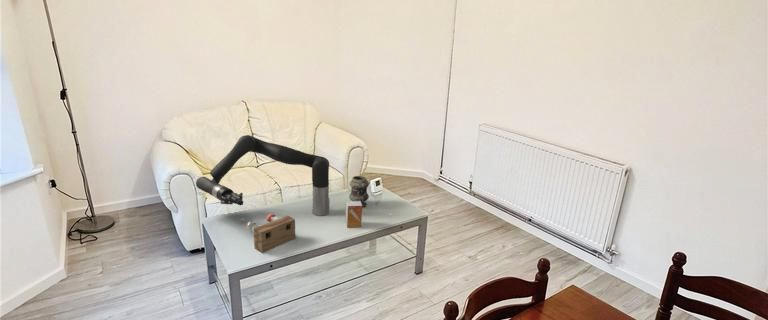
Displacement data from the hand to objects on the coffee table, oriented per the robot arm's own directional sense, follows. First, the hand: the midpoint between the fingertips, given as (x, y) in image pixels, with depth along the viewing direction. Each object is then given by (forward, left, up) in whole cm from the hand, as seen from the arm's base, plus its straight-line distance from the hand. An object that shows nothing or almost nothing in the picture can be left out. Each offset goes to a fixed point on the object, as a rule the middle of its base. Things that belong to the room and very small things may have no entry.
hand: (241, 203), depth 209 cm
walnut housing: (-14, +13, -18) cm, 26 cm away
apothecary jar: (-69, -22, -18) cm, 74 cm away
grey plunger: (-6, +11, -12) cm, 17 cm away
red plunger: (-16, +5, -12) cm, 21 cm away
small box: (-58, +3, -18) cm, 61 cm away
